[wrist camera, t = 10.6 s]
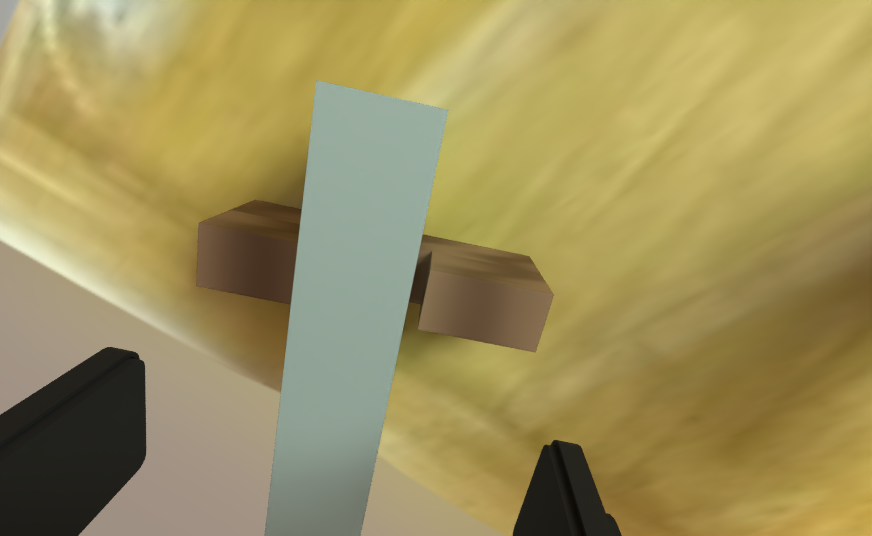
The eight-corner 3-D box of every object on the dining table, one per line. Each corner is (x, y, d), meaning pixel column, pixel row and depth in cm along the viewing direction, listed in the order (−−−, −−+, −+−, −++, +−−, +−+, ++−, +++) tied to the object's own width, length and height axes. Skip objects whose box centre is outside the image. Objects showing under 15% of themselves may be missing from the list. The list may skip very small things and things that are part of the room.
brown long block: (529, 256, 25) (554, 294, 20) (515, 302, 26) (535, 352, 21) (255, 199, 25) (198, 222, 19) (251, 249, 26) (196, 285, 20)
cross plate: (390, 104, 23) (316, 79, 10) (445, 117, 23) (448, 110, 10) (346, 365, 28) (259, 585, 15) (392, 374, 28) (347, 599, 15)
